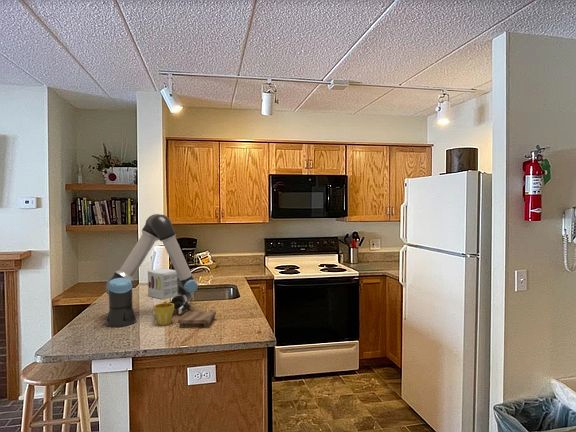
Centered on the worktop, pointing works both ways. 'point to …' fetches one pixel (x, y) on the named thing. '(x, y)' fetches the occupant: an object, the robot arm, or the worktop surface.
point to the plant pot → (164, 313)
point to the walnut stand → (197, 318)
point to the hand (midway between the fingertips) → (166, 311)
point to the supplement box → (162, 283)
